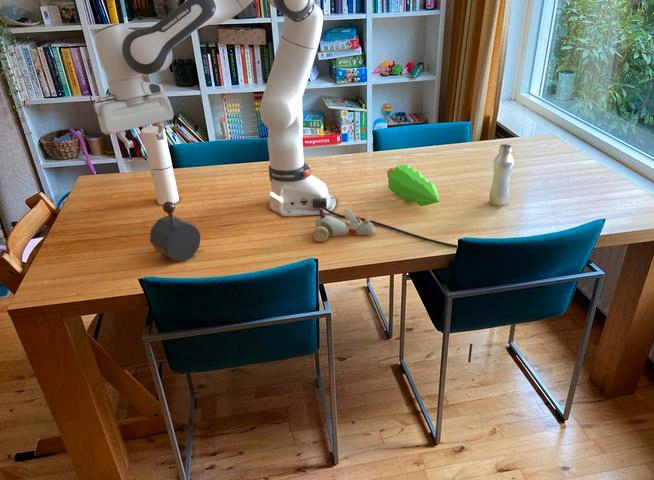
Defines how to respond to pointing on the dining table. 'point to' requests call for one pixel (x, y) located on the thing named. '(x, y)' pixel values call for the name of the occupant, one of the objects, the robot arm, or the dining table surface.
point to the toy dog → (340, 226)
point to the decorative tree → (411, 185)
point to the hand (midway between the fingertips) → (146, 143)
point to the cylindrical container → (160, 166)
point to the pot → (174, 236)
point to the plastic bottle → (501, 176)
